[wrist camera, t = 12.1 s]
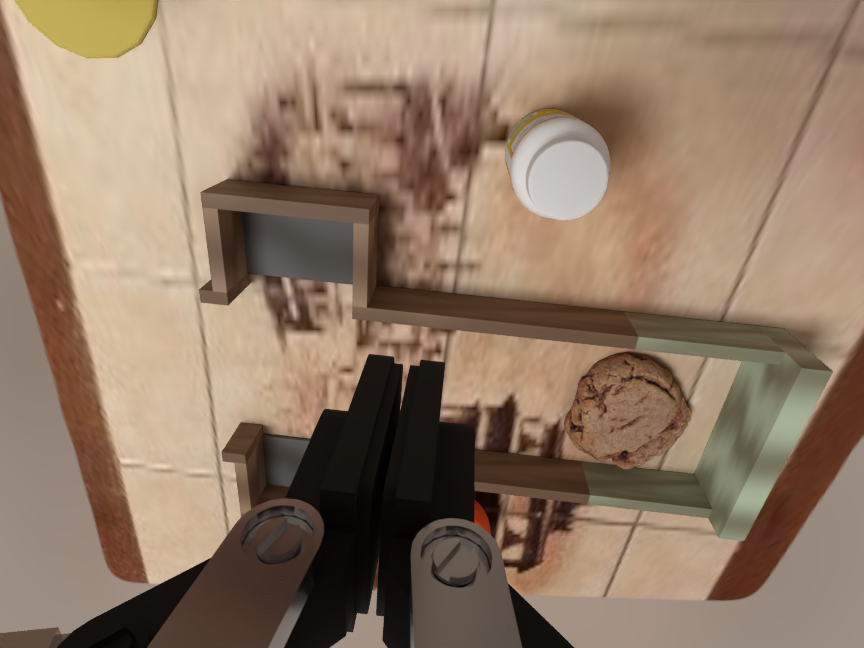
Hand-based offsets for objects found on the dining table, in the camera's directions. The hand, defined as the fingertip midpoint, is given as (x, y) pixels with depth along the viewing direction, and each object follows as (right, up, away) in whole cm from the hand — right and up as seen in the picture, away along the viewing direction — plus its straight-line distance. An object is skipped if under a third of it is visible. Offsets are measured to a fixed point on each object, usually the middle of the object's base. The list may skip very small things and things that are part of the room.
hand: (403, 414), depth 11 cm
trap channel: (+6, -3, +32) cm, 32 cm away
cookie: (+17, -5, +32) cm, 36 cm away
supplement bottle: (+8, +14, +23) cm, 28 cm away
